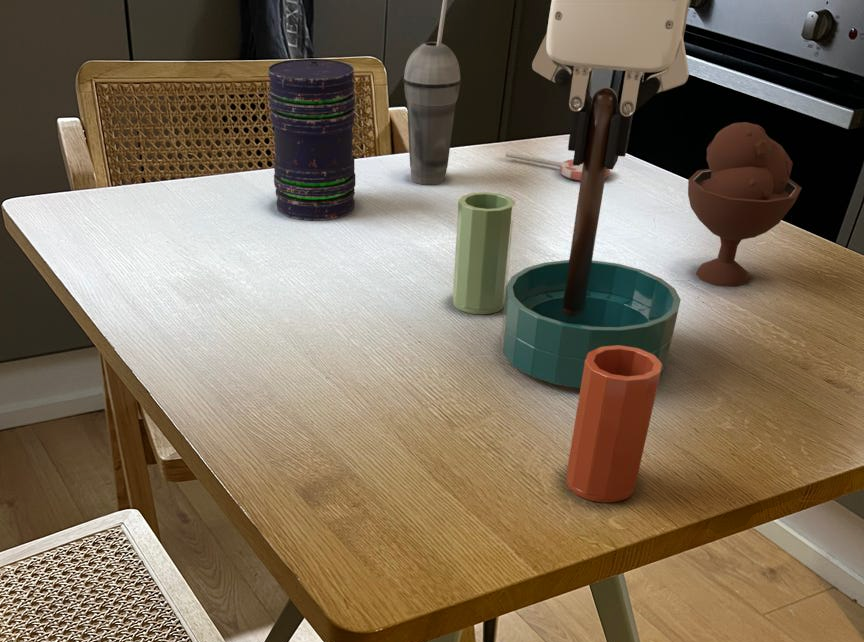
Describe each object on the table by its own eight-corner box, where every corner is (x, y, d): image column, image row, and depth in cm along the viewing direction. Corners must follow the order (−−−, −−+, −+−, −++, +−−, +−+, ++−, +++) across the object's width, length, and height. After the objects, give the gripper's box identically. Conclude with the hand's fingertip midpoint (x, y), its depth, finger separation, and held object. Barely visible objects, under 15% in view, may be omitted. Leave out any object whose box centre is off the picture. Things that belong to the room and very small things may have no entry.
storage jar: (352, 222, 115) (350, 80, 105) (270, 219, 115) (260, 78, 105) (359, 194, 122) (358, 59, 112) (281, 191, 123) (274, 57, 113)
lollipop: (517, 144, 135) (618, 163, 129) (516, 152, 136) (616, 171, 130) (495, 156, 131) (598, 176, 125) (494, 164, 132) (597, 185, 126)
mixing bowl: (673, 334, 94) (687, 272, 90) (655, 407, 83) (670, 341, 79) (520, 311, 97) (526, 251, 93) (483, 379, 86) (488, 314, 82)
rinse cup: (509, 297, 100) (519, 195, 93) (497, 317, 96) (507, 213, 89) (460, 290, 101) (467, 189, 94) (447, 310, 97) (453, 206, 90)
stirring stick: (584, 314, 90) (621, 85, 77) (580, 323, 89) (617, 91, 76) (563, 311, 91) (596, 83, 78) (559, 319, 89) (592, 89, 76)
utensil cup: (638, 472, 75) (665, 351, 69) (629, 508, 72) (657, 384, 65) (572, 460, 76) (592, 340, 70) (560, 495, 73) (580, 372, 66)
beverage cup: (405, 168, 130) (409, -8, 117) (458, 172, 129) (469, -5, 116) (396, 186, 125) (399, 3, 111) (452, 189, 124) (462, 6, 111)
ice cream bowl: (739, 305, 99) (782, 146, 89) (649, 273, 105) (679, 120, 95) (794, 278, 104) (839, 125, 94) (705, 249, 110) (739, 102, 100)
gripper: (756, -115, 69) (696, 160, 82) (538, -125, 73) (512, 140, 85) (750, -106, 64) (687, 188, 76) (515, -117, 68) (492, 165, 80)
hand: (595, 161), depth 81 cm, fingers closed on stirring stick, 2 cm apart
